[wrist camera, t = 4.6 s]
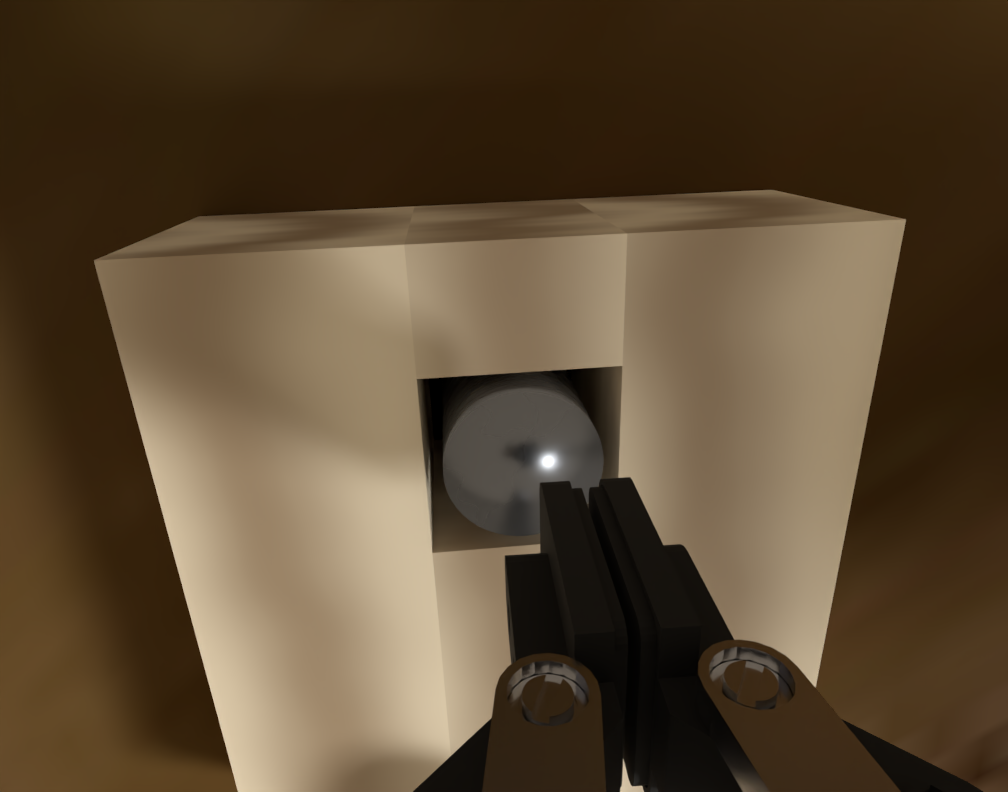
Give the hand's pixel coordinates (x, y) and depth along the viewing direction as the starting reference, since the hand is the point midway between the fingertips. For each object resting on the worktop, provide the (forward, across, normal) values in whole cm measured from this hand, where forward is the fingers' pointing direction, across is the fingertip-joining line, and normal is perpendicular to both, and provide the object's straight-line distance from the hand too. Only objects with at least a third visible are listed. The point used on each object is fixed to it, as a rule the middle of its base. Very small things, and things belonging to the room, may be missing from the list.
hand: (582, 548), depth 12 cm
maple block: (+9, +1, +6) cm, 11 cm away
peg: (+8, +1, 0) cm, 8 cm away
